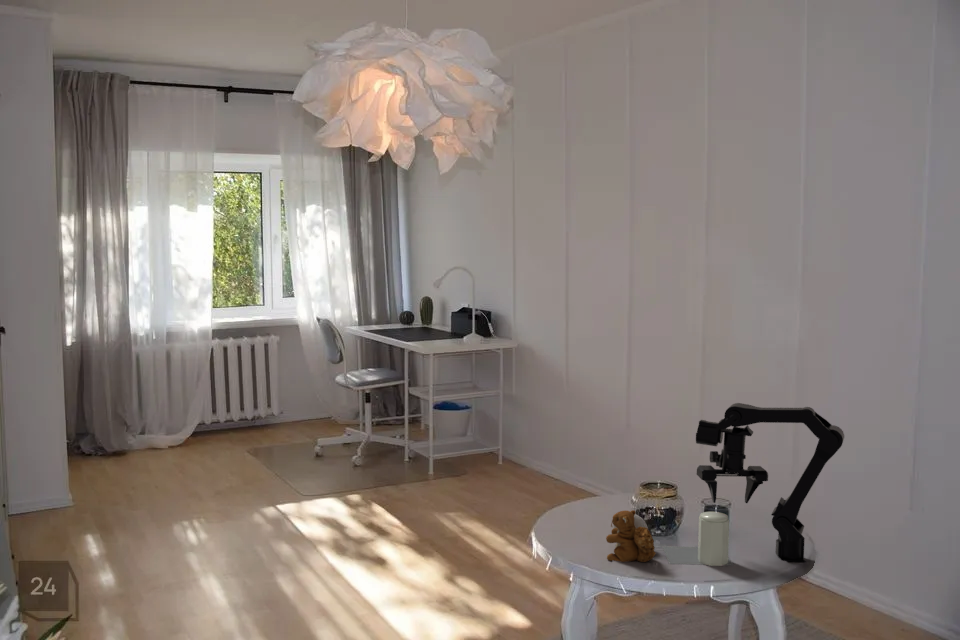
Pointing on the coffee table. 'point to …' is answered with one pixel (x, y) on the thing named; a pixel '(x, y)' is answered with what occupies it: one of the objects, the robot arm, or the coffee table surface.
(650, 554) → the stuffed squirrel
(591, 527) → the coffee table surface
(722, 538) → the pale green faceted cylinder
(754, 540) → the coffee table surface
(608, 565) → the coffee table surface
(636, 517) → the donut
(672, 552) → the slate mat
